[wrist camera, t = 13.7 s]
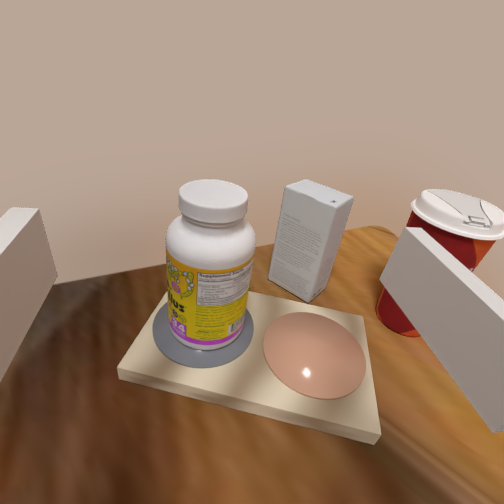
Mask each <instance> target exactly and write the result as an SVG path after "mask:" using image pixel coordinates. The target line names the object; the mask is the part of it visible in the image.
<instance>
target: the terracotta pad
mask: <svg viewBox="0 0 504 504" xmlns="http://www.w3.org/2000/svg"><path fill="white" fill-rule="evenodd" d="M263 353H264V357H265V360H266V362H267V364H268V366H269V368H270V369H271V371H272V372H273V374H274V375H275V376H276V377H277V378H278V379H279V380H280V381H281V382H282V383H283V384H285V385H286V386H287V387H289V388H290V389H292V390H294V391H295V392H297V393H299V394H302V395H304V396H307V397H310V398H315V399H321V400H334V399H339V398H343V397H345V396H348V395H349V394H351V393H353V392H354V391H355V390H356V389H357V388H358V387H359V386H360V384H361V382H362V380H363V379H364V376H365V373H366V360H365V355H364V353H363V350H362V348H361V346H360V344H359V343H358V341H357V340H356V339H355V337H354V336H353V335H352V334H351V333H350V332H349V331H348V330H347V329H345V328H344V327H343V326H342V325H340V324H339V323H337V322H335V321H333V320H332V319H329V318H327V317H325V316H322V315H318V314H314V313H309V312H294V313H289V314H286V315H283V316H281V317H279V318H277V319H276V320H274V321H273V322H272V323H271V324H270V325H269V327H268V328H267V330H266V332H265V335H264V339H263Z"/></svg>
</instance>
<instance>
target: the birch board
mask: <svg viewBox="0 0 504 504" xmlns="http://www.w3.org/2000/svg"><path fill="white" fill-rule="evenodd" d="M166 302H168V293H167V292H166V293H165V295H164V297H163V298H162V300H161V301H160V303H159V304H158V306H157V307H156V309H155V310H154V312H153V313H152V315H151V316H150V318H149V319H148V321H147V322H146V324H145V325H144V327H143V328H142V330H141V331H140V333H139V334H138V336H137V338H136V339H135V341H134V342H133V344H132V345H131V347H130V348H129V350H128V351H127V353H126V354H125V356H124V357H123V359H122V360H121V362H120V363H119V365H118V366H117V371H118V376H119V379H121V380H124V381H128V382H132V383H136V384H140V385H144V386H148V387H151V388H155V389H159V390H163V391H167V392H171V393H175V394H179V395H182V396H186V397H190V398H194V399H198V400H202V401H206V402H209V403H213V404H217V405H221V406H225V407H229V408H233V409H236V410H240V411H244V412H248V413H252V414H256V415H260V416H263V417H267V418H271V419H275V420H279V421H283V422H287V423H290V424H294V425H298V426H302V427H306V428H310V429H314V430H317V431H321V432H325V433H329V434H333V435H337V436H341V437H345V438H348V439H352V440H356V441H360V442H364V443H368V444H372V445H375V443H376V442H377V441H378V439H379V438H380V436H381V429H380V422H379V416H378V409H377V403H376V397H375V390H374V384H373V377H372V371H371V364H370V358H369V352H368V345H367V339H366V332H365V326H364V320H363V316H359V315H354V314H350V313H345V312H341V311H336V310H332V309H327V308H323V307H318V306H314V305H309V304H305V303H300V302H296V301H291V300H287V299H282V298H278V297H273V296H269V295H264V294H260V293H255V292H251V291H249V292H248V298H247V305H246V308H247V310H248V311H249V313H250V314H251V317H252V319H253V324H254V331H253V337H252V340H251V342H250V344H249V346H248V348H247V349H246V350H245V352H243V353H242V354H241V355H240V356H239V357H238V358H236V359H235V360H233V361H231V362H230V363H227V364H225V365H222V366H218V367H213V368H202V369H201V368H191V367H186V366H183V365H180V364H177V363H175V362H173V361H172V360H170V359H168V358H167V357H166V356H165V355H163V354H162V352H161V351H160V350H159V349H158V347H157V346H156V344H155V341H154V338H153V330H152V326H153V321H154V318H155V316H156V314H157V312H158V311H159V309H160V308H161V307H162V306H163V305H164V304H165V303H166ZM294 312H309V313H314V314H318V315H322V316H325V317H327V318H329V319H332V320H333V321H335V322H337V323H339V324H340V325H342V326H343V327H344V328H345V329H347V330H348V331H349V332H350V333H351V334H352V335H353V336H354V337H355V339H356V340H357V341H358V343H359V344H360V346H361V348H362V350H363V353H364V355H365V360H366V373H365V376H364V379H363V380H362V382H361V384H360V386H359V387H358V388H357V389H356V390H355V391H354V392H353V393H351V394H349V395H348V396H345V397H343V398H339V399H334V400H321V399H315V398H310V397H307V396H304V395H302V394H299V393H297V392H295V391H294V390H292V389H290V388H289V387H287V386H286V385H285V384H283V383H282V382H281V381H280V380H279V379H278V378H277V377H276V376H275V375H274V374H273V372H272V371H271V369H270V368H269V366H268V364H267V362H266V360H265V357H264V353H263V339H264V335H265V332H266V330H267V328H268V327H269V325H270V324H271V323H272V322H273V321H274V320H276V319H277V318H279V317H281V316H283V315H286V314H289V313H294Z"/></svg>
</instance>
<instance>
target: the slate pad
mask: <svg viewBox="0 0 504 504" xmlns="http://www.w3.org/2000/svg"><path fill="white" fill-rule="evenodd" d="M152 330H153V338H154V341H155V344H156V346H157V347H158V349H159V350H160V351H161V352H162V354H163V355H165V356H166V357H167V358H168V359H170V360H172V361H173V362H175V363H177V364H180V365H183V366H186V367H191V368H201V369H202V368H213V367H218V366H222V365H225V364H227V363H230V362H231V361H233V360H235V359H236V358H238V357H239V356H240V355H241V354H242V353H243V352H245V350H246V349H247V348H248V346H249V344H250V342H251V340H252V337H253V331H254V324H253V319H252V317H251V314H250V313H249V311H248V310H247V308H246V312H245V318H244V324H243V327H242V330H241V332H240V334H239V335H238V336H237V338H236V339H235V340H234V341H232V342H231V343H230V344H228V345H226V346H224V347H221V348H218V349H213V350H198V349H193V348H190V347H188V346H186V345H184V344H182V343H181V342H180V341H179V340H177V339H176V338H175V336H174V335H173V333H172V331H171V329H170V326H169V317H168V302H166V303H165V304H164V305H163V306H162V307H161V308H160V309H159V311H158V312H157V314H156V316H155V318H154V321H153V326H152Z"/></svg>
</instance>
